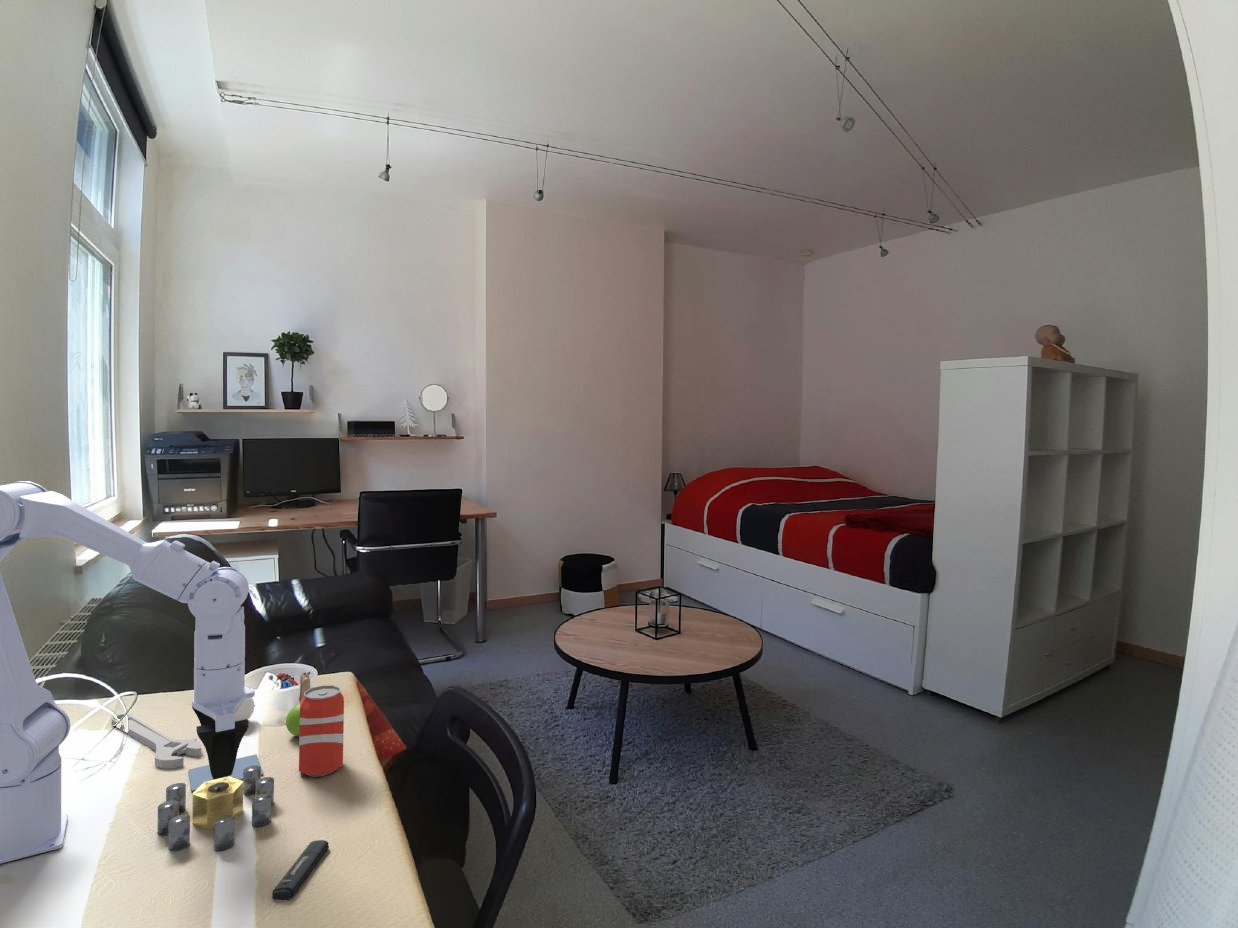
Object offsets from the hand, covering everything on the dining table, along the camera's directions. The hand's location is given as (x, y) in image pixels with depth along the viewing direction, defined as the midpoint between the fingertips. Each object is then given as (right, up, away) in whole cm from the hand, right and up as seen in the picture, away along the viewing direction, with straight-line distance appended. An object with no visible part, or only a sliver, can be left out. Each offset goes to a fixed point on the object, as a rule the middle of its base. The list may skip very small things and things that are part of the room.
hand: (219, 763), depth 87 cm
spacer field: (+1, -7, -1) cm, 7 cm away
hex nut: (0, -7, 0) cm, 7 cm away
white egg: (-15, -6, +28) cm, 32 cm away
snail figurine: (0, -6, +24) cm, 25 cm away
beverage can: (+7, -7, +13) cm, 17 cm away
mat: (-6, -7, +11) cm, 14 cm away
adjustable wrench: (-23, -6, +21) cm, 32 cm away
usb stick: (+16, -9, -10) cm, 21 cm away
